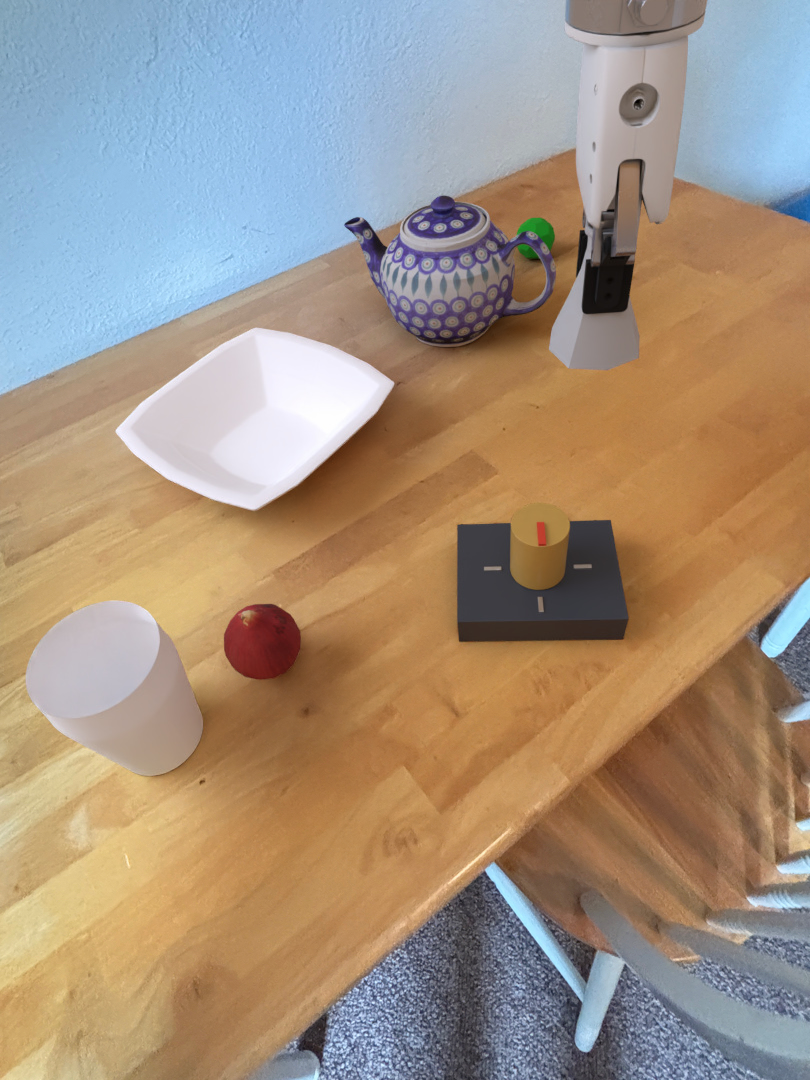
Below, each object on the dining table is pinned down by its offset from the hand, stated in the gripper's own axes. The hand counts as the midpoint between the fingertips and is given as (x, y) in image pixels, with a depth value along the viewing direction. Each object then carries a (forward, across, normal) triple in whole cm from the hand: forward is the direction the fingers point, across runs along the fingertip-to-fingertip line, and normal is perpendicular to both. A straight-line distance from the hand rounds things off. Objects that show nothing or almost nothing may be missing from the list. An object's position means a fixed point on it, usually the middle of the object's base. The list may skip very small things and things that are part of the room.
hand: (600, 293), depth 53 cm
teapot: (+20, +27, +13) cm, 36 cm away
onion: (+20, -20, +26) cm, 38 cm away
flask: (+5, 0, 0) cm, 5 cm away
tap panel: (+19, -13, +5) cm, 24 cm away
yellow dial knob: (+16, -13, +5) cm, 21 cm away
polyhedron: (+20, +41, +2) cm, 45 cm away
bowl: (+20, +6, +32) cm, 38 cm away
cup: (+20, -26, +34) cm, 47 cm away
